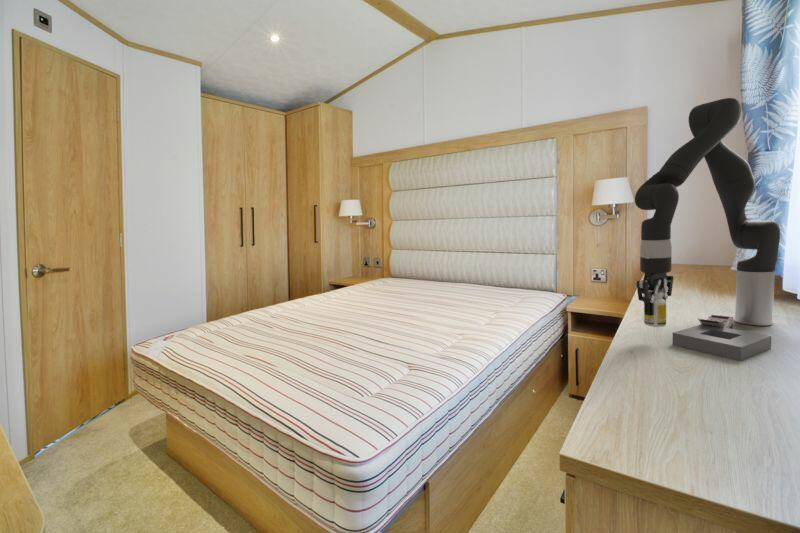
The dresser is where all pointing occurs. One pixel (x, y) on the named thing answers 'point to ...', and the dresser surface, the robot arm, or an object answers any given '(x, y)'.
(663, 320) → the supplement bottle
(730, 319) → the mobile phone
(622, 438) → the dresser surface
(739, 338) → the socket block
